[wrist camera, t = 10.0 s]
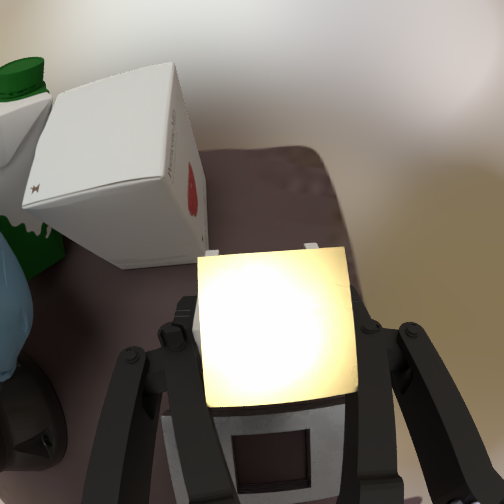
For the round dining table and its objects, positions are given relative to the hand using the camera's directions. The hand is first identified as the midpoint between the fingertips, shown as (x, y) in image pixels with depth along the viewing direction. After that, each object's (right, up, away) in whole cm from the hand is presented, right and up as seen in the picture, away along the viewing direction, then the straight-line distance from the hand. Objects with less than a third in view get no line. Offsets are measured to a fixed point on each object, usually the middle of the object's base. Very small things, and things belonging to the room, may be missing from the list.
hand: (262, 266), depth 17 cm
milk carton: (-25, +1, +7) cm, 26 cm away
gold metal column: (0, -5, +3) cm, 6 cm away
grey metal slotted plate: (+1, -17, +4) cm, 18 cm away
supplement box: (-9, +4, +10) cm, 14 cm away
